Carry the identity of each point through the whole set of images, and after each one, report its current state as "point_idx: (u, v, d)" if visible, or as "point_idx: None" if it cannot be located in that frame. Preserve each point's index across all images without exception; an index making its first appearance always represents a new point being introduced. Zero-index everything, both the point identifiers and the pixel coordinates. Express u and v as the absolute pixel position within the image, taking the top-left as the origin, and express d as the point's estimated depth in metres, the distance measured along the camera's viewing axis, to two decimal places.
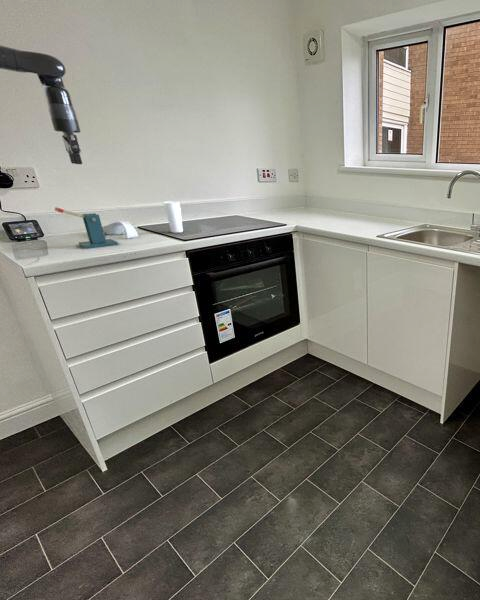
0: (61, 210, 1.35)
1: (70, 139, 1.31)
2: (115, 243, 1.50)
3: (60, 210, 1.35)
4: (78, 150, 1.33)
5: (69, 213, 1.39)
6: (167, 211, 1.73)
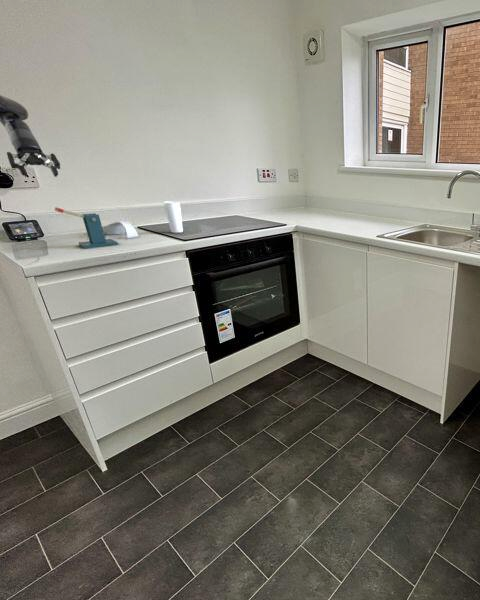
0: (61, 210, 1.35)
1: None
2: (115, 243, 1.50)
3: (60, 210, 1.35)
4: (59, 167, 1.45)
5: (69, 213, 1.39)
6: (167, 211, 1.73)
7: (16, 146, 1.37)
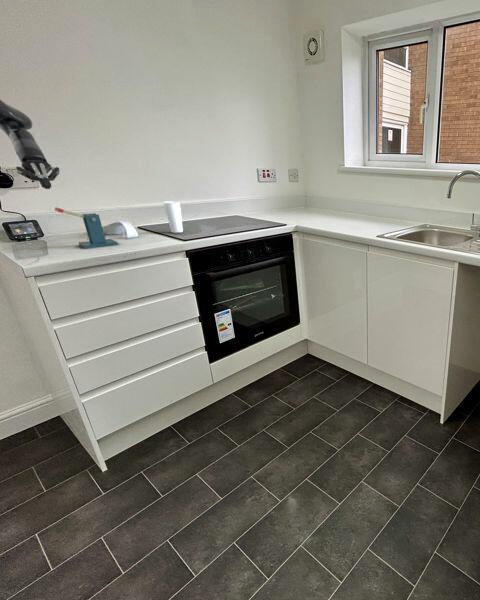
0: (61, 210, 1.35)
1: (57, 171, 1.42)
2: (115, 243, 1.50)
3: (60, 210, 1.35)
4: (52, 179, 1.41)
5: (69, 213, 1.39)
6: (167, 211, 1.73)
7: (21, 156, 1.36)
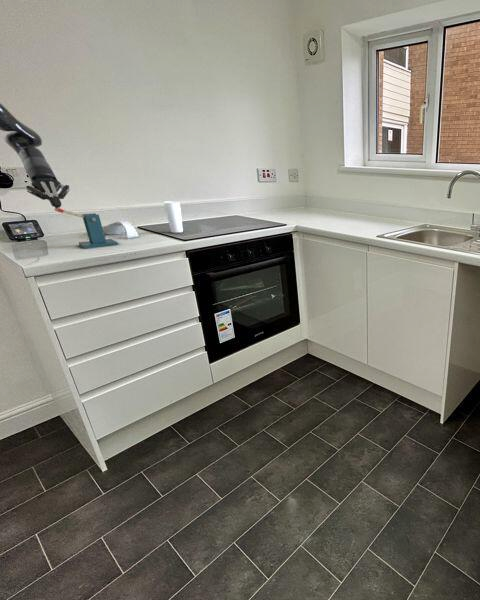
0: (61, 210, 1.35)
1: (67, 189, 1.41)
2: (115, 243, 1.50)
3: (60, 210, 1.35)
4: (62, 197, 1.39)
5: (69, 213, 1.39)
6: (167, 211, 1.73)
7: (31, 175, 1.34)
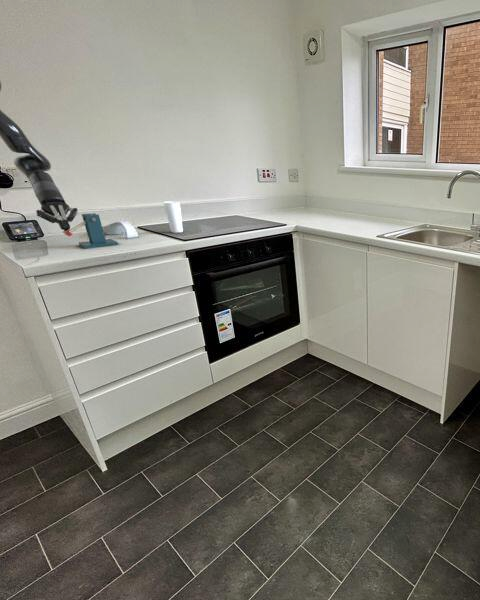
0: (69, 233, 1.39)
1: (76, 212, 1.44)
2: (115, 243, 1.50)
3: (68, 234, 1.39)
4: (71, 220, 1.43)
5: (75, 229, 1.42)
6: (167, 211, 1.73)
7: (40, 199, 1.38)
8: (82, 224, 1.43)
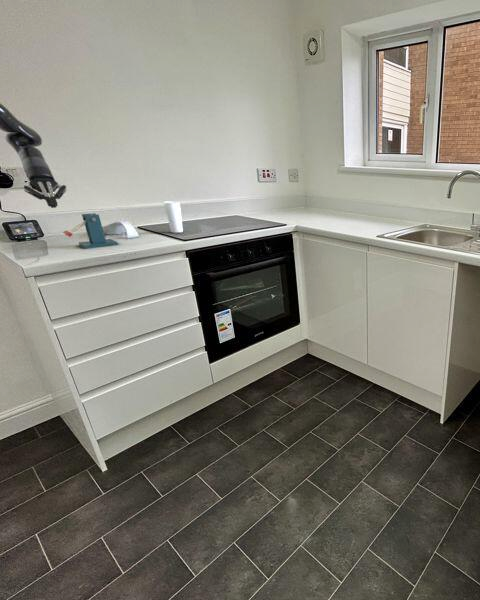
0: (69, 234, 1.39)
1: (64, 189, 1.44)
2: (115, 243, 1.50)
3: (69, 234, 1.39)
4: (59, 197, 1.43)
5: (76, 229, 1.42)
6: (167, 211, 1.73)
7: (29, 175, 1.38)
8: (82, 224, 1.43)
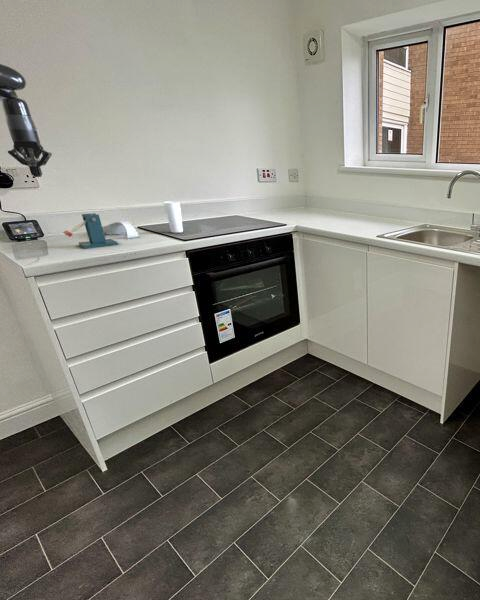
0: (69, 234, 1.39)
1: (47, 157, 1.38)
2: (115, 243, 1.50)
3: (69, 234, 1.39)
4: (44, 164, 1.39)
5: (76, 229, 1.42)
6: (167, 211, 1.73)
7: (11, 137, 1.32)
8: (82, 224, 1.43)
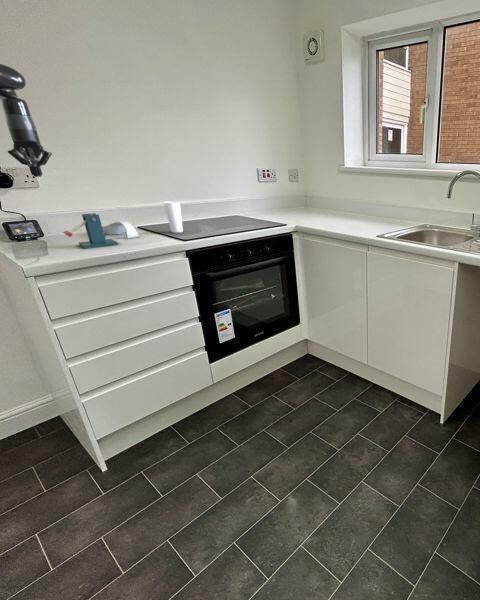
0: (69, 234, 1.39)
1: (47, 156, 1.38)
2: (115, 243, 1.50)
3: (69, 234, 1.39)
4: (44, 164, 1.39)
5: (76, 229, 1.42)
6: (167, 211, 1.73)
7: (11, 137, 1.32)
8: (82, 224, 1.43)
